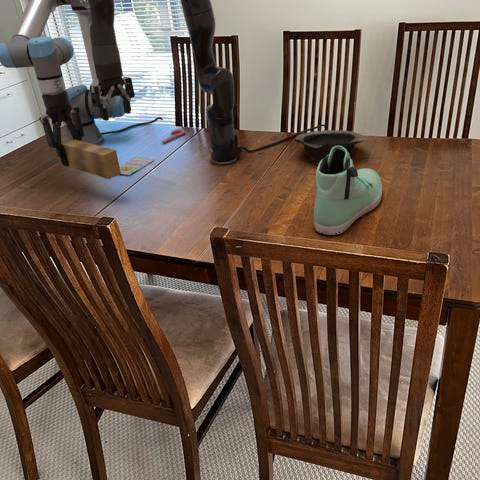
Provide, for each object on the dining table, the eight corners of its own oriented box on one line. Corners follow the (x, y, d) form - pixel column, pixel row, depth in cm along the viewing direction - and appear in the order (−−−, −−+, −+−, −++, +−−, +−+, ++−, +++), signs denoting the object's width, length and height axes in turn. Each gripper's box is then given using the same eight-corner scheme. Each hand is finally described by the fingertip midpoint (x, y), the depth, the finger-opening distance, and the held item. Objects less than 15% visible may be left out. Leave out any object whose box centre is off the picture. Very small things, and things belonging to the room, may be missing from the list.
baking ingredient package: (109, 171, 174) (134, 157, 185) (109, 172, 174) (134, 158, 185) (129, 174, 170) (153, 159, 182) (129, 175, 170) (153, 160, 182)
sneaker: (389, 187, 148) (396, 123, 138) (356, 242, 123) (361, 168, 112) (346, 181, 154) (350, 119, 144) (306, 232, 129) (307, 161, 118)
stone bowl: (322, 174, 159) (321, 147, 155) (282, 157, 179) (280, 133, 175) (380, 156, 168) (380, 130, 163) (336, 142, 188) (335, 118, 184)
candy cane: (153, 142, 199) (153, 139, 199) (177, 131, 210) (176, 127, 209) (164, 144, 196) (163, 141, 196) (187, 133, 206) (187, 129, 206)
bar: (60, 164, 160) (53, 142, 156) (72, 159, 164) (66, 137, 159) (109, 179, 147) (103, 155, 143) (121, 173, 150) (116, 150, 146)
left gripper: (35, 100, 139) (56, 174, 152) (85, 85, 151) (101, 155, 163) (20, 97, 144) (42, 169, 156) (70, 83, 155) (87, 151, 167)
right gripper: (95, 66, 130) (106, 124, 138) (134, 57, 140) (142, 112, 148) (78, 64, 134) (90, 121, 142) (117, 55, 144) (126, 109, 152)
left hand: (72, 162), depth 160 cm, fingers closed on bar, 5 cm apart
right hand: (117, 116), depth 145 cm, fingers open, 8 cm apart
